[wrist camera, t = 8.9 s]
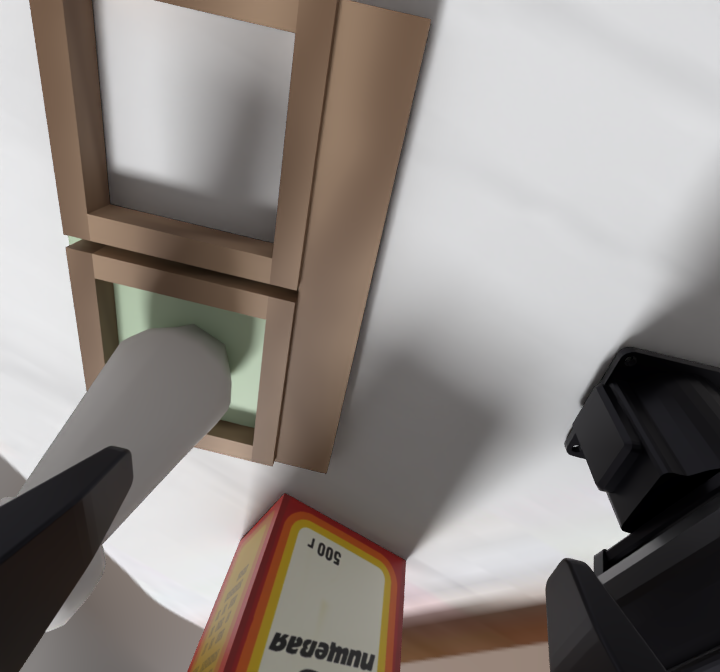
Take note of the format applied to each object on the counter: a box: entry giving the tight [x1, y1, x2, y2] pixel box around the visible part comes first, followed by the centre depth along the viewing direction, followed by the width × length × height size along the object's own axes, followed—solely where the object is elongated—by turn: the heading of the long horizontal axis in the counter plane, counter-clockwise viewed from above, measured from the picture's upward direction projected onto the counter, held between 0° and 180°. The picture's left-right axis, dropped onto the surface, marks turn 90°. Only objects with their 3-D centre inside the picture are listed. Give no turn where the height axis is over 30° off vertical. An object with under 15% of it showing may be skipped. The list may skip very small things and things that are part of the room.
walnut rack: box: [29, 0, 431, 474], centre depth 21 cm, size 13×21×2 cm, turn 169°
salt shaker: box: [0, 324, 232, 632], centre depth 18 cm, size 6×6×13 cm
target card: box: [68, 236, 299, 428], centre depth 24 cm, size 12×12×1 cm
